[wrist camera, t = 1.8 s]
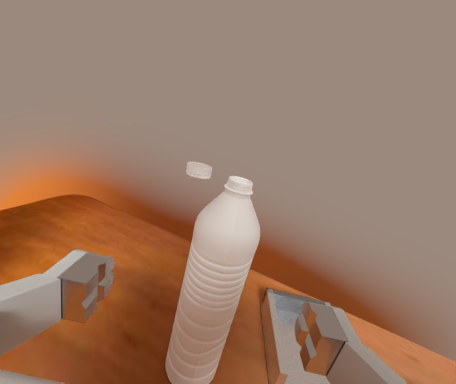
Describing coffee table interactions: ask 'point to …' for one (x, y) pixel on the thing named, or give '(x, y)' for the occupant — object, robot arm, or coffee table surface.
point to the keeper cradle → (285, 338)
